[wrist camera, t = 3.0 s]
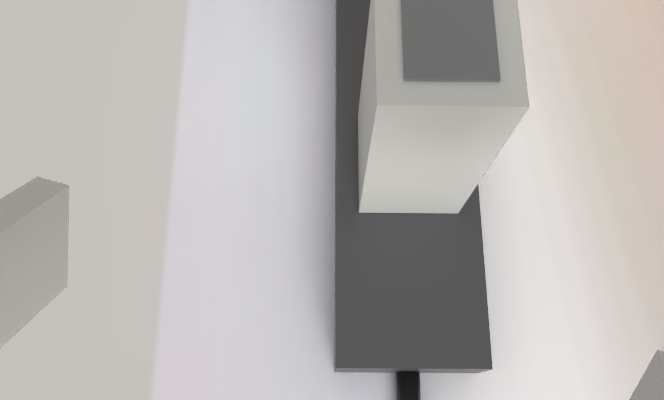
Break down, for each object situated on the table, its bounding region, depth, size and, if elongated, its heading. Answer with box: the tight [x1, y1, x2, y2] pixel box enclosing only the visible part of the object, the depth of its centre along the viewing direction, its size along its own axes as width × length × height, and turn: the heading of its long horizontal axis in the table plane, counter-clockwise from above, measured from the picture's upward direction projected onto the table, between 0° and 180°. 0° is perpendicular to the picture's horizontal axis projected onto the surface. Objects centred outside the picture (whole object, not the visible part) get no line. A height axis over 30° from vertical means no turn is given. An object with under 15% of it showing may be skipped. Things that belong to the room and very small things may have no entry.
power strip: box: [335, 0, 492, 400], centre depth 28 cm, size 32×6×3 cm, turn 0°
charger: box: [358, 0, 529, 214], centre depth 24 cm, size 5×4×12 cm
